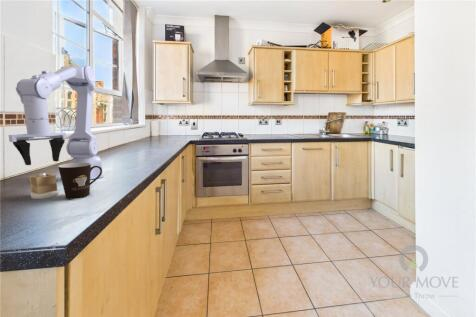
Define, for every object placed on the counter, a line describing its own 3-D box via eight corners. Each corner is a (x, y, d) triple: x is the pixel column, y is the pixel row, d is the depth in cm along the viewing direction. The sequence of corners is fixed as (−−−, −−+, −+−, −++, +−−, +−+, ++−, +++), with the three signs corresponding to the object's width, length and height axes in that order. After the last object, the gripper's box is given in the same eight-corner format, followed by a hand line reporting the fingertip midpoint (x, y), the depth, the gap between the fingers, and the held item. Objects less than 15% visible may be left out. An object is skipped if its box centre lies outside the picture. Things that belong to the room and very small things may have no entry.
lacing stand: (54, 191, 87) (53, 187, 87) (61, 195, 83) (61, 190, 83) (28, 196, 82) (27, 191, 82) (35, 200, 77) (34, 195, 77)
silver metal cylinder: (46, 190, 83) (44, 171, 82) (48, 191, 82) (46, 172, 81) (40, 191, 82) (37, 172, 81) (42, 192, 81) (39, 173, 80)
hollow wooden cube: (49, 188, 86) (47, 173, 85) (57, 190, 83) (55, 175, 82) (31, 191, 81) (29, 176, 80) (39, 194, 79) (37, 178, 78)
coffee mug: (59, 201, 76) (56, 168, 75) (63, 194, 84) (60, 163, 82) (104, 196, 82) (101, 165, 80) (103, 189, 89) (101, 161, 88)
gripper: (56, 119, 88) (60, 158, 90) (1, 119, 76) (8, 165, 78) (67, 119, 85) (71, 160, 87) (12, 119, 72) (19, 167, 74)
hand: (42, 162), depth 82 cm, fingers open, 7 cm apart
